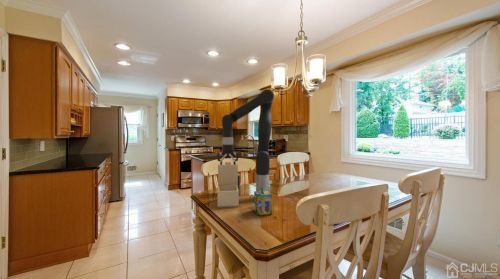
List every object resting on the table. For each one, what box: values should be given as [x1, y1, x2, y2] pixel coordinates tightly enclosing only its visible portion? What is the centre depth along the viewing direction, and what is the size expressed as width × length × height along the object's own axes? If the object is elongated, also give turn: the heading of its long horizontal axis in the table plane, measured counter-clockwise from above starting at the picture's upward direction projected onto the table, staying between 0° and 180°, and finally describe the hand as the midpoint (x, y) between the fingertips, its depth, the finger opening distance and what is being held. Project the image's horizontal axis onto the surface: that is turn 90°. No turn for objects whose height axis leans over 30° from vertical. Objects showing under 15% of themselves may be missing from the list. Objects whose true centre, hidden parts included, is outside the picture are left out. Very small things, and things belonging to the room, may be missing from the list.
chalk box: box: [253, 186, 273, 216], centre depth 125 cm, size 9×9×15 cm
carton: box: [217, 184, 240, 209], centre depth 140 cm, size 13×15×10 cm
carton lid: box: [217, 162, 239, 186], centre depth 148 cm, size 13×14×6 cm
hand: (227, 166), depth 150 cm, fingers open, 8 cm apart
